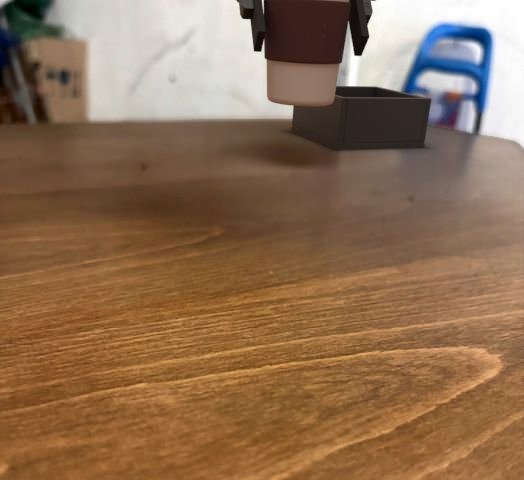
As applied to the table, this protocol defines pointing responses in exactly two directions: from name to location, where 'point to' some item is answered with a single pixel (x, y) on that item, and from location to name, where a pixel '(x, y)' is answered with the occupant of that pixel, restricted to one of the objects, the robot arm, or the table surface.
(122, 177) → the table surface
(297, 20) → the coffee cup
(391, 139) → the basket
